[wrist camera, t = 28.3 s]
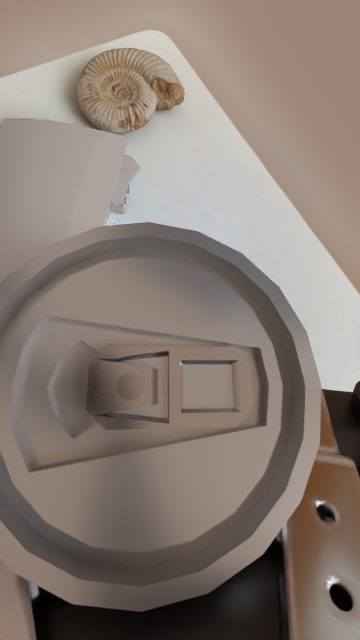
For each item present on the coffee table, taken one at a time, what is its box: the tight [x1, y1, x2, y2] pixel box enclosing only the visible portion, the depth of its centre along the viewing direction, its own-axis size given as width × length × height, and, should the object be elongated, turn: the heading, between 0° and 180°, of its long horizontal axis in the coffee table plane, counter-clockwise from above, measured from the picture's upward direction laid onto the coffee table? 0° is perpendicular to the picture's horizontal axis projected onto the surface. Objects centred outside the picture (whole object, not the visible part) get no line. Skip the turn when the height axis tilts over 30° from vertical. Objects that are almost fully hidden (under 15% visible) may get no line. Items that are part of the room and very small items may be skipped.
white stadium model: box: [0, 119, 140, 283], centre depth 30 cm, size 15×23×4 cm, turn 169°
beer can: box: [0, 222, 321, 612], centre depth 10 cm, size 5×5×12 cm
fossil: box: [76, 48, 184, 133], centre depth 35 cm, size 12×5×10 cm
